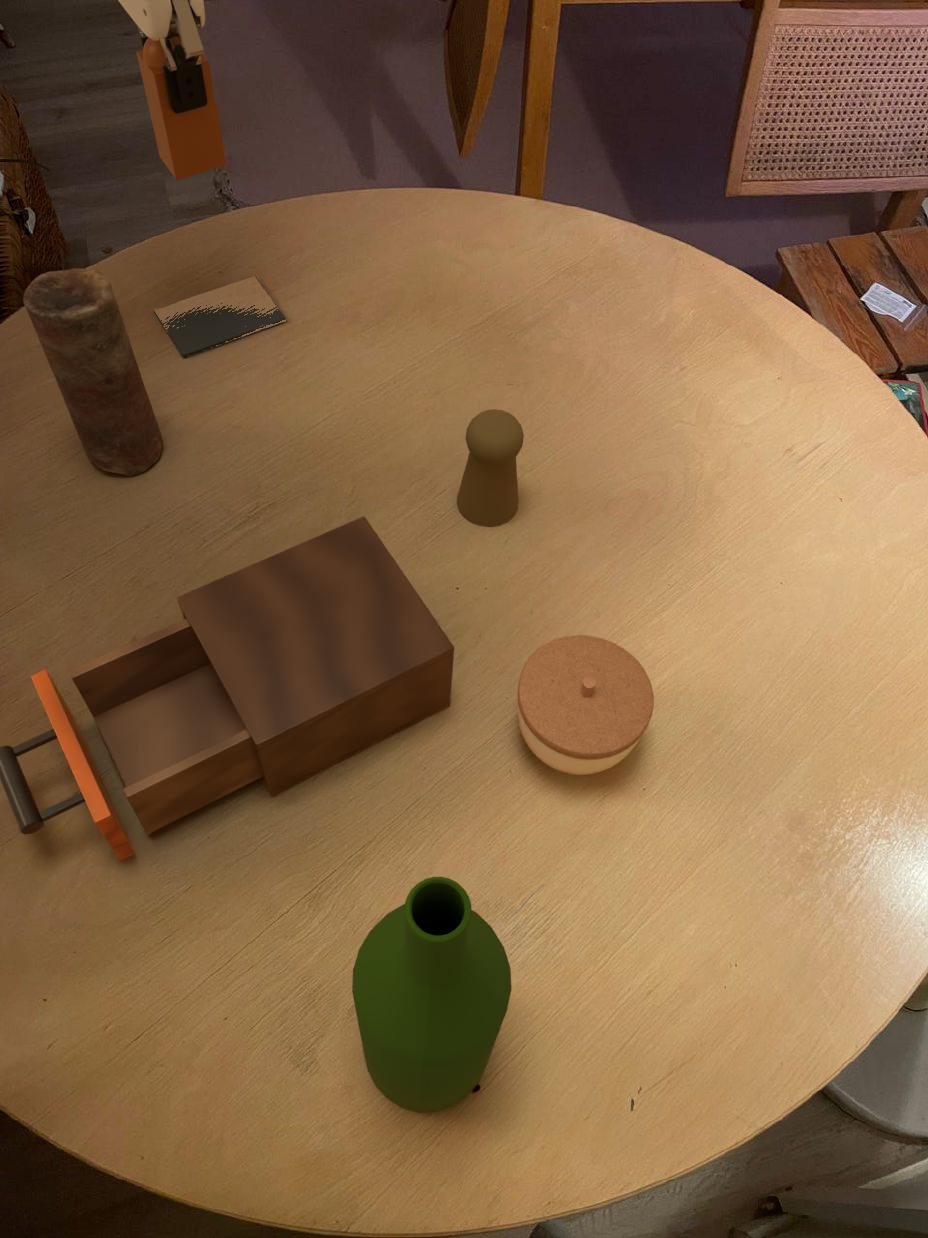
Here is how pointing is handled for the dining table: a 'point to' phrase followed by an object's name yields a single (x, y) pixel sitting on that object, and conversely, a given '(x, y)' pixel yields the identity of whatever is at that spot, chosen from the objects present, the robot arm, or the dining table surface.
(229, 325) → the mat
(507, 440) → the chess pawn piece
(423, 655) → the cabinet
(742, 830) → the dining table surface
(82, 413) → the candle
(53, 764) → the dining table surface
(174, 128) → the tall orange block
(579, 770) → the trinket box
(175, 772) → the drawer
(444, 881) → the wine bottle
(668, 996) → the dining table surface
